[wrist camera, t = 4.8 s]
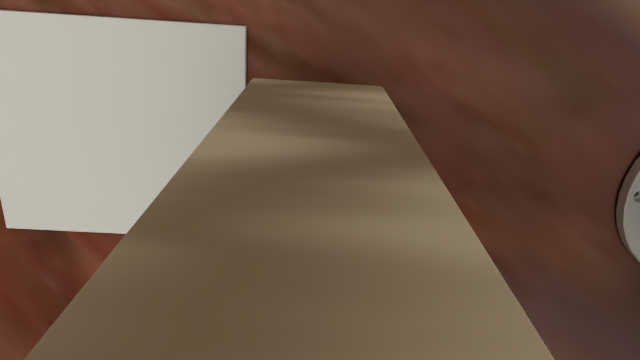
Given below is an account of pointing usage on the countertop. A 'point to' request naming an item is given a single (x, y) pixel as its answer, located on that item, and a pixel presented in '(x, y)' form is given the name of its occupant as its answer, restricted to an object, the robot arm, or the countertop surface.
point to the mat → (105, 112)
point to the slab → (299, 249)
